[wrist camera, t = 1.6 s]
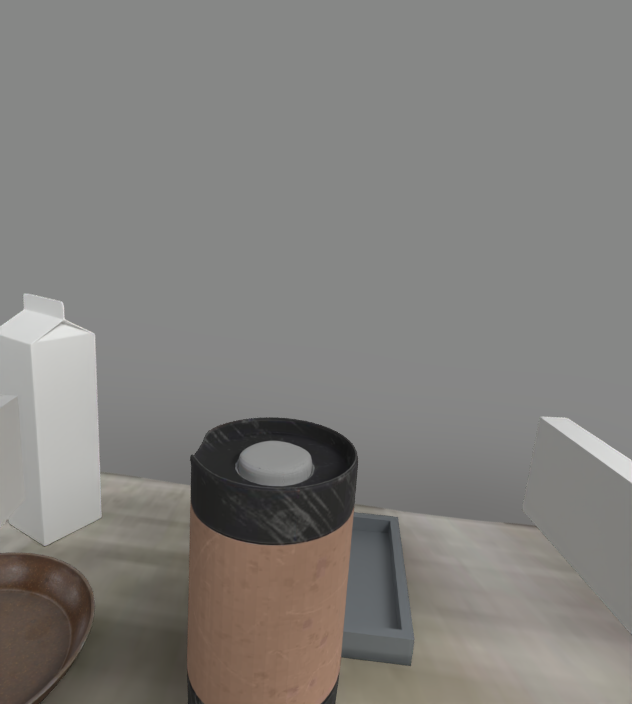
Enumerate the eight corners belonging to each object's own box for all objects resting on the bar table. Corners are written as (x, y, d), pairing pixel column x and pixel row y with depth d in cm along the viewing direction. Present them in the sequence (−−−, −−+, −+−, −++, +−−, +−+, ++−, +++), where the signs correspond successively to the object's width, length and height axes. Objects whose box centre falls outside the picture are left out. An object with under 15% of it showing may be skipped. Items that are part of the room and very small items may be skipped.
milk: (44, 547, 46) (26, 305, 40) (7, 524, 49) (-14, 295, 43) (103, 517, 51) (95, 298, 46) (66, 497, 54) (54, 289, 49)
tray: (395, 536, 51) (397, 517, 51) (410, 665, 36) (414, 639, 36) (242, 519, 52) (243, 500, 52) (195, 638, 37) (195, 613, 37)
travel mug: (356, 797, 28) (396, 458, 23) (235, 913, 23) (253, 512, 18) (273, 696, 33) (290, 406, 28) (161, 771, 28) (159, 436, 23)
